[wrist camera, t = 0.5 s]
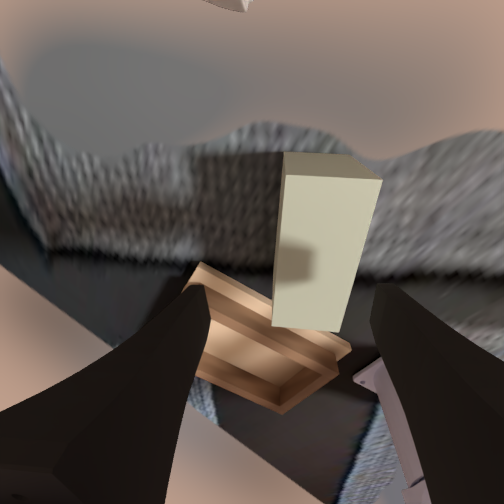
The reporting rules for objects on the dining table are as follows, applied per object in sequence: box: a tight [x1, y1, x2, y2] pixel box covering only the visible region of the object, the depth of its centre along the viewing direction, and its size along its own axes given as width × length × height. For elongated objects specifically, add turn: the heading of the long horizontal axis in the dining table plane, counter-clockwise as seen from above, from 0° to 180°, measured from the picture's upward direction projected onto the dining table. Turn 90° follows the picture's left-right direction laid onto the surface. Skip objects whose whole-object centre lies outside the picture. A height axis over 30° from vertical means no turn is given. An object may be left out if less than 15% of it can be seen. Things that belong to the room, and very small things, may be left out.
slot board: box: [181, 261, 352, 414], centre depth 24 cm, size 16×12×3 cm
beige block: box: [271, 152, 383, 332], centre depth 16 cm, size 4×9×6 cm, turn 178°
